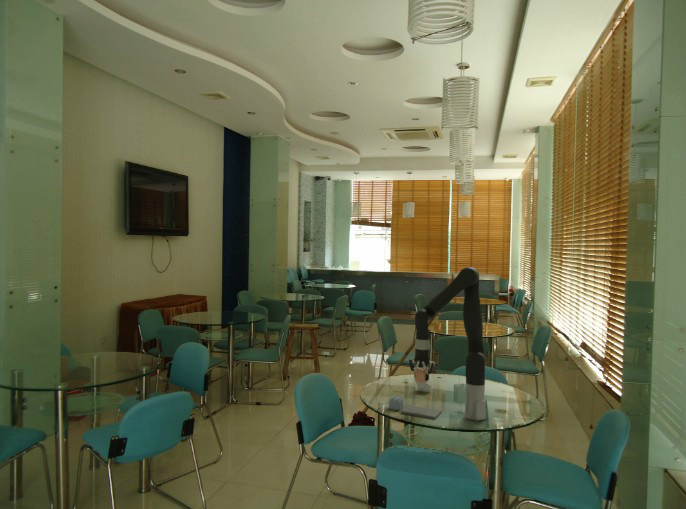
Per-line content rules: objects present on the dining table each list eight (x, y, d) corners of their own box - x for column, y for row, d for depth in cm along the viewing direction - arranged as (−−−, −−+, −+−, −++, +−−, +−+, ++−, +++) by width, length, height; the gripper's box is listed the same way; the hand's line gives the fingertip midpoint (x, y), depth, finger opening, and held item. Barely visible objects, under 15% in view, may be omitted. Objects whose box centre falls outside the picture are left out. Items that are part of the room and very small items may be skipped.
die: (434, 392, 304) (428, 376, 309) (432, 388, 297) (427, 372, 302) (420, 396, 305) (415, 381, 310) (419, 392, 297) (413, 377, 303)
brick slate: (403, 407, 272) (403, 396, 272) (399, 410, 267) (400, 399, 267) (392, 406, 275) (392, 395, 274) (389, 408, 270) (389, 397, 270)
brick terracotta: (418, 379, 273) (419, 368, 273) (428, 380, 271) (428, 369, 271) (414, 381, 268) (415, 370, 268) (424, 383, 265) (424, 371, 265)
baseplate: (441, 413, 265) (441, 410, 265) (435, 419, 255) (435, 416, 255) (408, 407, 273) (408, 404, 273) (400, 413, 263) (400, 410, 263)
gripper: (406, 347, 269) (405, 379, 269) (433, 350, 262) (432, 383, 263) (411, 344, 276) (411, 376, 276) (438, 348, 269) (437, 380, 269)
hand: (421, 380), depth 269 cm, fingers closed on brick terracotta, 5 cm apart
